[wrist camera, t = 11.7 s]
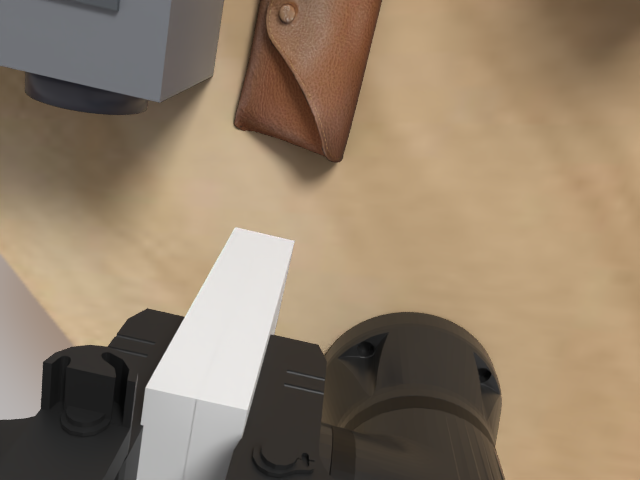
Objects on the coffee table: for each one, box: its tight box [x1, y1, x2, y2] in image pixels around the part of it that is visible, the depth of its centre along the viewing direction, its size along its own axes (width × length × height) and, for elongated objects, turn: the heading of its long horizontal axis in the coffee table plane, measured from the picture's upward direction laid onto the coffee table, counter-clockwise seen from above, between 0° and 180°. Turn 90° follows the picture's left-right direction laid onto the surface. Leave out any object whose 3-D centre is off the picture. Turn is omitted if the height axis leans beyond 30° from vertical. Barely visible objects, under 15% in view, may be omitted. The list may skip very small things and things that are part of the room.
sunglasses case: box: [234, 0, 382, 162], centre depth 39 cm, size 18×7×7 cm, turn 168°
